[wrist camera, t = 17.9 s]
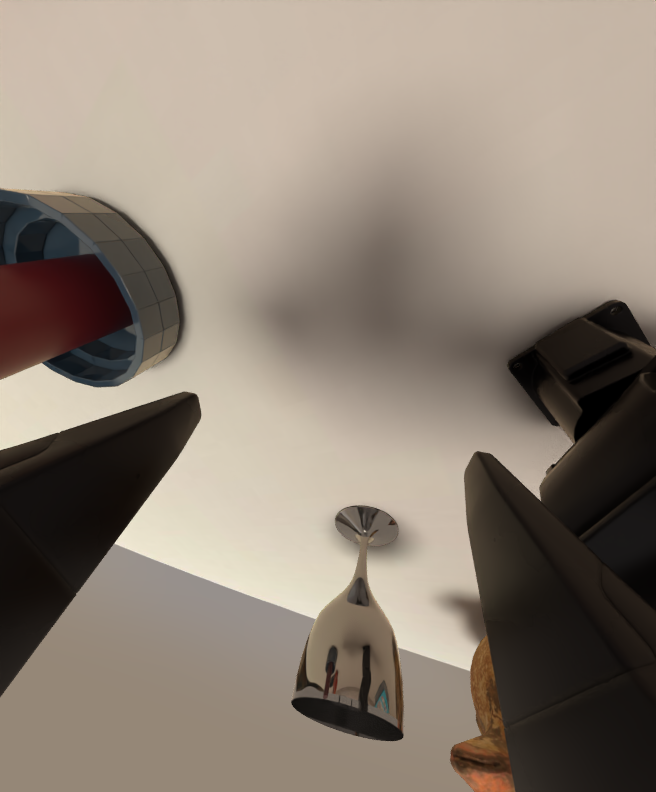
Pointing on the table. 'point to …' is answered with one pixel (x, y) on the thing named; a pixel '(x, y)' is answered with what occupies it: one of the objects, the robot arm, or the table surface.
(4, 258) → the bowl
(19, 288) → the candle
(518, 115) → the table surface
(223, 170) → the table surface
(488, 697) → the ceramic vessel
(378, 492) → the table surface
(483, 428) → the table surface
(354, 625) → the wine glass
